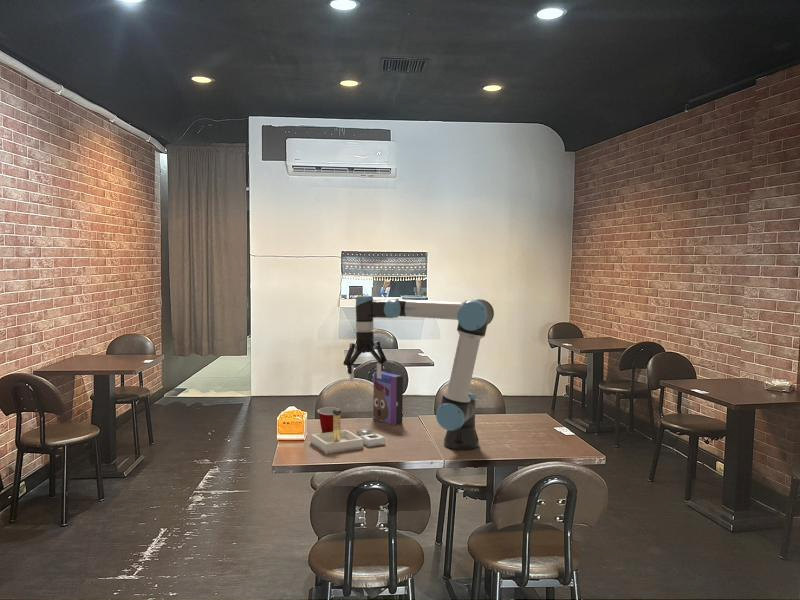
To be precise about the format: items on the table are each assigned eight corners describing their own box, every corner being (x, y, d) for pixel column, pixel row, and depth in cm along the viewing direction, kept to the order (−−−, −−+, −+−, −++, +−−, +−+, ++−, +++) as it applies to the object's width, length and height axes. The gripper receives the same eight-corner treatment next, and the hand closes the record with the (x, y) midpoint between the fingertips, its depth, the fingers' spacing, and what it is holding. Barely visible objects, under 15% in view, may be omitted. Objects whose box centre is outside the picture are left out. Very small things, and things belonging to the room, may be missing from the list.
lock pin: (342, 444, 263) (342, 410, 263) (334, 445, 261) (335, 411, 261) (338, 442, 266) (338, 409, 266) (331, 443, 264) (331, 410, 264)
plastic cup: (323, 440, 272) (324, 413, 272) (313, 434, 281) (313, 408, 281) (345, 436, 278) (345, 410, 278) (334, 431, 287) (334, 406, 287)
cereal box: (373, 418, 314) (373, 372, 313) (380, 417, 317) (380, 371, 316) (394, 425, 300) (395, 376, 299) (402, 424, 303) (402, 375, 302)
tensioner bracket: (385, 444, 267) (385, 436, 267) (368, 446, 263) (368, 438, 263) (368, 435, 281) (368, 428, 281) (352, 437, 277) (352, 430, 277)
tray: (363, 448, 261) (363, 439, 260) (326, 453, 252) (326, 444, 252) (346, 438, 275) (346, 429, 275) (310, 443, 267) (311, 434, 267)
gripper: (385, 329, 277) (386, 375, 278) (335, 332, 264) (336, 381, 265) (393, 330, 270) (394, 378, 271) (342, 333, 257) (343, 383, 258)
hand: (365, 379), depth 268 cm, fingers open, 13 cm apart
